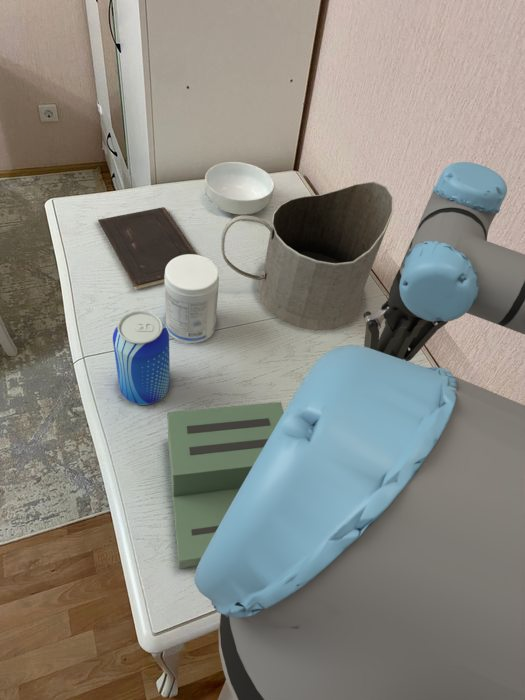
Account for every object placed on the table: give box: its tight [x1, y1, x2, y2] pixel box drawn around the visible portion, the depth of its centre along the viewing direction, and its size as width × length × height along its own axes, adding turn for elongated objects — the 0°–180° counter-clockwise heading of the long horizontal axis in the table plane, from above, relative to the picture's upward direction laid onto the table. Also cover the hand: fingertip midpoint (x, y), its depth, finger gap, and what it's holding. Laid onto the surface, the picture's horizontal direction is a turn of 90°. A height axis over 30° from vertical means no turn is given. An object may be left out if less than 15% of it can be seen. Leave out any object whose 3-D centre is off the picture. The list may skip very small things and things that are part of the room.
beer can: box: [112, 310, 171, 406], centre depth 81 cm, size 8×8×16 cm
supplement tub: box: [164, 254, 220, 344], centre depth 92 cm, size 10×10×15 cm
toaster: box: [167, 401, 285, 570], centre depth 72 cm, size 19×17×11 cm
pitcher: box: [220, 181, 394, 332], centre depth 98 cm, size 23×32×25 cm
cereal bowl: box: [204, 161, 275, 216], centre depth 124 cm, size 17×17×7 cm
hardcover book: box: [97, 206, 198, 290], centre depth 110 cm, size 16×23×2 cm
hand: (373, 383), depth 85 cm, fingers closed
